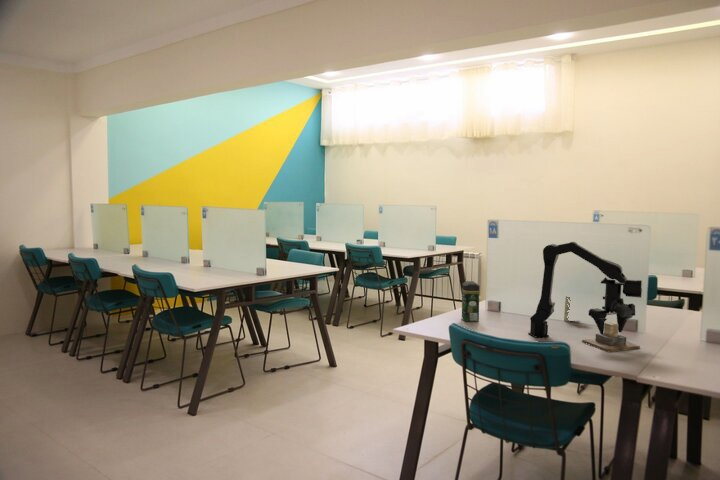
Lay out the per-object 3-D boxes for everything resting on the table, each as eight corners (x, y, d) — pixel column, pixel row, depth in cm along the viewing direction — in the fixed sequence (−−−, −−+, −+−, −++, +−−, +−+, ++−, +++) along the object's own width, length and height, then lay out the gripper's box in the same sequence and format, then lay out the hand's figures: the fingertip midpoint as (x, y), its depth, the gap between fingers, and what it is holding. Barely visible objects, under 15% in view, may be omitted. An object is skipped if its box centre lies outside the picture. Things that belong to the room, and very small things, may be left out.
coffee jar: (460, 317, 266) (461, 280, 264) (476, 317, 266) (477, 280, 264) (463, 322, 256) (464, 283, 254) (480, 322, 256) (481, 283, 254)
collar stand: (607, 351, 210) (607, 341, 210) (582, 342, 223) (582, 332, 223) (639, 348, 215) (640, 338, 215) (613, 339, 228) (613, 329, 228)
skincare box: (563, 321, 260) (564, 296, 258) (564, 319, 263) (566, 294, 262) (578, 322, 257) (579, 297, 256) (579, 320, 260) (580, 295, 259)
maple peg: (610, 344, 217) (611, 324, 216) (603, 341, 220) (604, 322, 219) (617, 343, 218) (618, 324, 217) (610, 341, 221) (611, 322, 221)
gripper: (609, 300, 207) (607, 340, 208) (647, 297, 212) (645, 336, 214) (588, 294, 217) (586, 332, 219) (625, 292, 223) (623, 329, 224)
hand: (610, 333), depth 219 cm, fingers open, 9 cm apart
